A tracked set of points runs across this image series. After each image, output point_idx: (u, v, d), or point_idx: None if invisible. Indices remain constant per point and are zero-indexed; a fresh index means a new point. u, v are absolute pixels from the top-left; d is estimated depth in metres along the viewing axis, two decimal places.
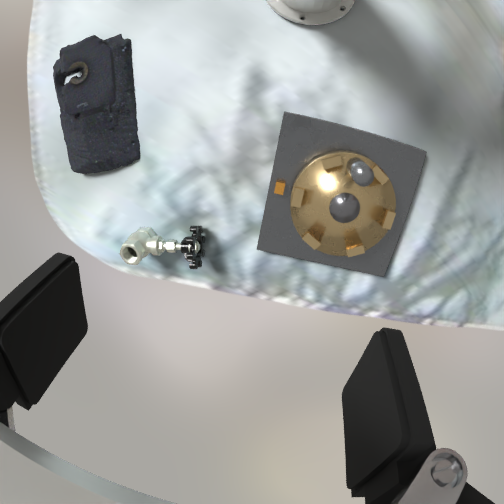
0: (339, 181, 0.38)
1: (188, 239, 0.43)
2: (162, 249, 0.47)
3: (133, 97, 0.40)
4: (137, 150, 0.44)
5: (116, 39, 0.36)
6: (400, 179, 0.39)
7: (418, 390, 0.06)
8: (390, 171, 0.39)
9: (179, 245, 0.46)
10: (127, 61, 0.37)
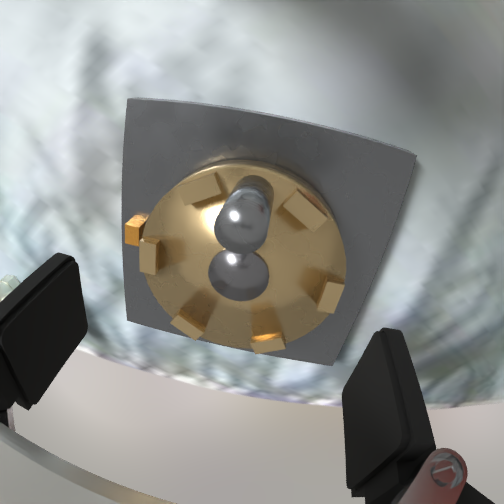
0: None
1: None
2: None
3: None
4: None
5: None
6: (361, 211, 0.21)
7: (418, 390, 0.06)
8: (340, 196, 0.21)
9: None
10: None
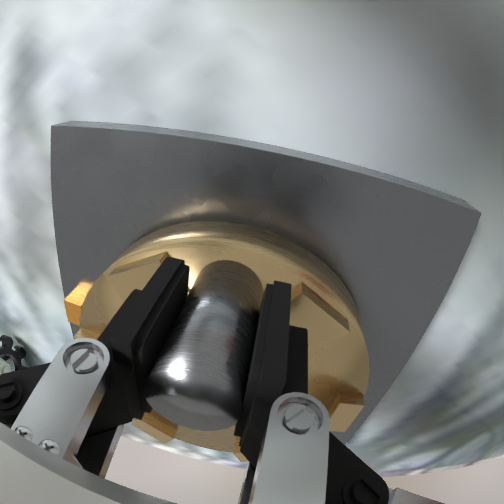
0: None
1: None
2: None
3: None
4: None
5: None
6: (395, 294, 0.14)
7: (286, 333, 0.07)
8: (366, 275, 0.13)
9: None
10: None
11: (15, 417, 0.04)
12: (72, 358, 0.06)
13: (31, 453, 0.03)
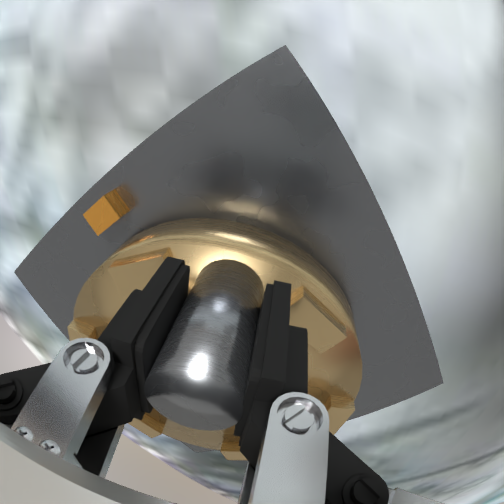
0: None
1: None
2: None
3: None
4: None
5: None
6: (360, 391, 0.17)
7: (286, 333, 0.07)
8: None
9: None
10: None
11: (15, 417, 0.04)
12: (72, 358, 0.06)
13: (31, 453, 0.03)
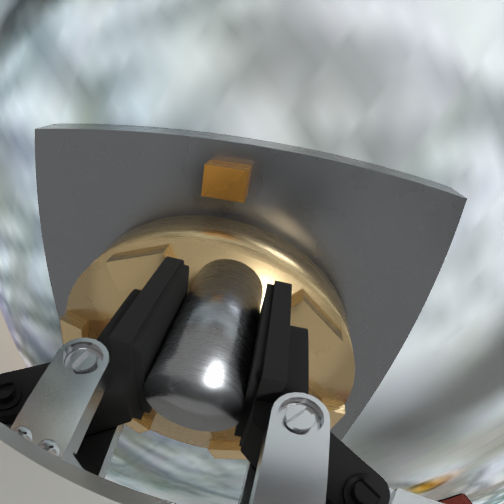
0: None
1: None
2: None
3: None
4: None
5: None
6: None
7: (286, 333, 0.07)
8: None
9: None
10: None
11: (15, 417, 0.04)
12: (71, 358, 0.06)
13: (31, 453, 0.03)
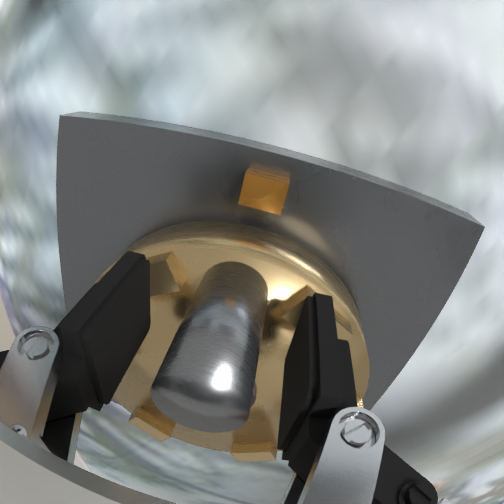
0: None
1: None
2: None
3: None
4: None
5: None
6: None
7: (336, 348, 0.07)
8: None
9: None
10: None
11: None
12: (26, 345, 0.06)
13: (31, 453, 0.03)
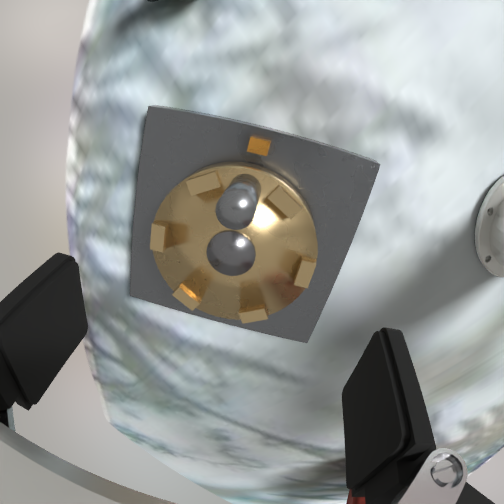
0: None
1: None
2: None
3: None
4: None
5: None
6: (270, 314, 0.32)
7: (418, 390, 0.06)
8: None
9: None
10: None
11: None
12: None
13: (31, 453, 0.03)
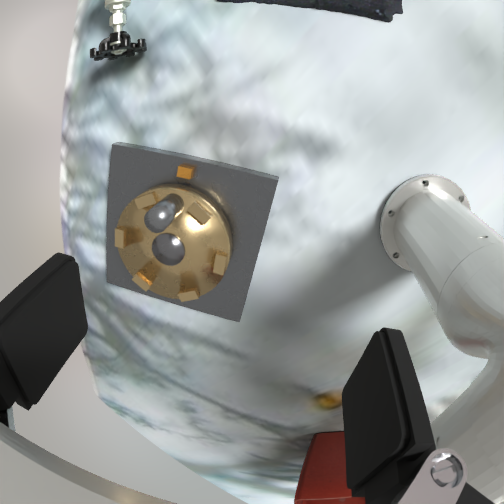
0: None
1: (126, 40, 0.25)
2: (112, 10, 0.24)
3: (305, 6, 0.26)
4: None
5: (396, 6, 0.24)
6: (207, 297, 0.42)
7: (418, 390, 0.06)
8: (214, 288, 0.41)
9: (119, 29, 0.26)
10: (359, 10, 0.25)
11: None
12: None
13: (31, 453, 0.03)
